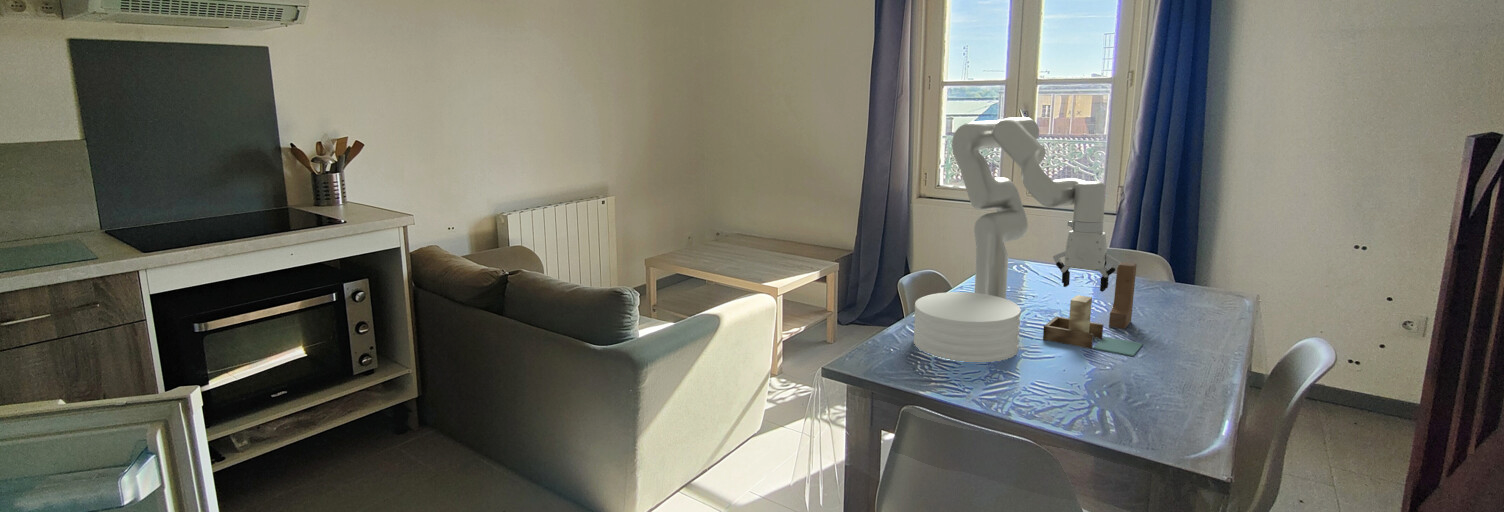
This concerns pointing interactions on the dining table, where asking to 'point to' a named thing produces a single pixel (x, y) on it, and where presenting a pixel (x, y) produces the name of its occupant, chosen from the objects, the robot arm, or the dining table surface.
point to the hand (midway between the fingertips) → (1084, 288)
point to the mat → (1118, 346)
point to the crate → (1071, 333)
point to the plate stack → (967, 326)
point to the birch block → (1080, 313)
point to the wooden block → (1123, 296)
